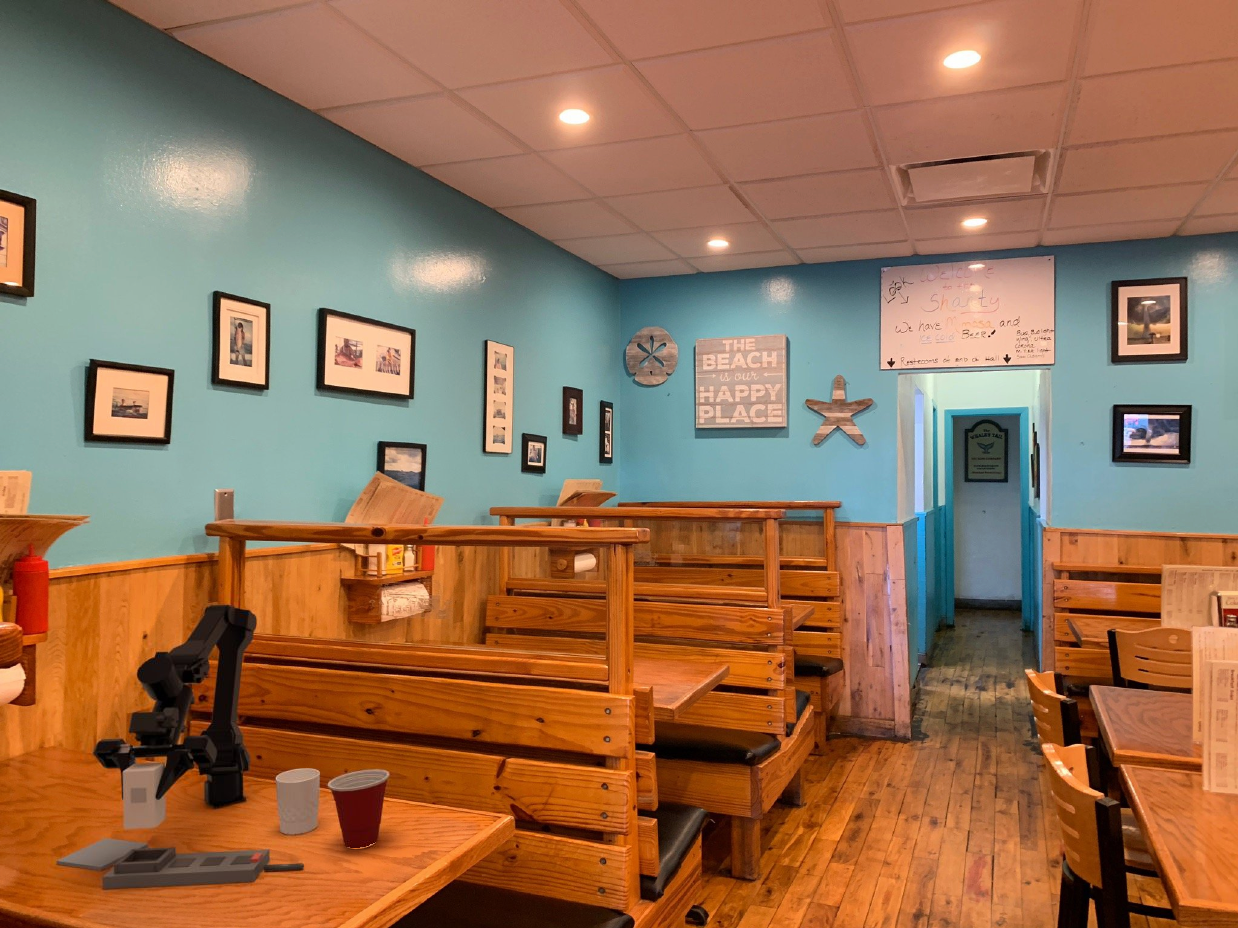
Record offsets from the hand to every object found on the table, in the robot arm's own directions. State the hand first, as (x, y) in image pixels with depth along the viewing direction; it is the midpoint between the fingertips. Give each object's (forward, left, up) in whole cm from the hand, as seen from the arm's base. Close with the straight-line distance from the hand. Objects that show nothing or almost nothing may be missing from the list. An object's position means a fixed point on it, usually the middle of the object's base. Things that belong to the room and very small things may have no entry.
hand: (140, 799), depth 148 cm
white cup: (-28, -3, -14) cm, 31 cm away
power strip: (-9, +6, -13) cm, 17 cm away
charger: (-1, -1, -5) cm, 5 cm away
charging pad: (+2, -16, -13) cm, 21 cm away
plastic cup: (-33, +12, -14) cm, 38 cm away
